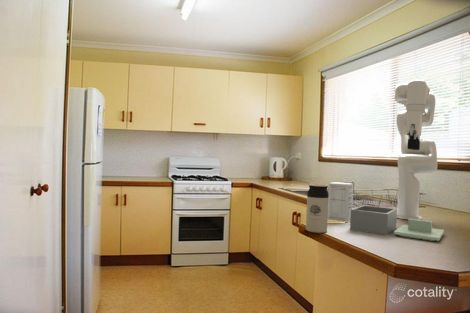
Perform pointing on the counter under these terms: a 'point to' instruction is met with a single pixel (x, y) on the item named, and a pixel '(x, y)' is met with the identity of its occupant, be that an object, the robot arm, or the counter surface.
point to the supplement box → (340, 201)
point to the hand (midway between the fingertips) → (413, 149)
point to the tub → (373, 219)
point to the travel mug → (317, 208)
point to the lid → (419, 230)
